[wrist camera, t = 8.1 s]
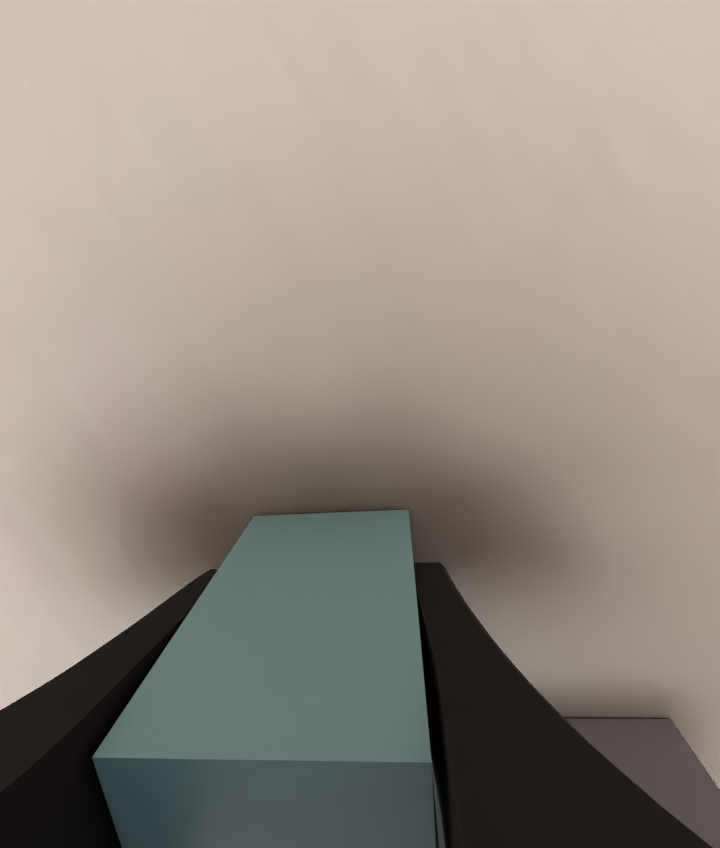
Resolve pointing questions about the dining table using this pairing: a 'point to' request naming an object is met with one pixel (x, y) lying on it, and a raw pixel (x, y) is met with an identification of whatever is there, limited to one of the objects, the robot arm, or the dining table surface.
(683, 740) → the housing
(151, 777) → the cartridge
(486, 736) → the robot arm
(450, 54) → the dining table surface
